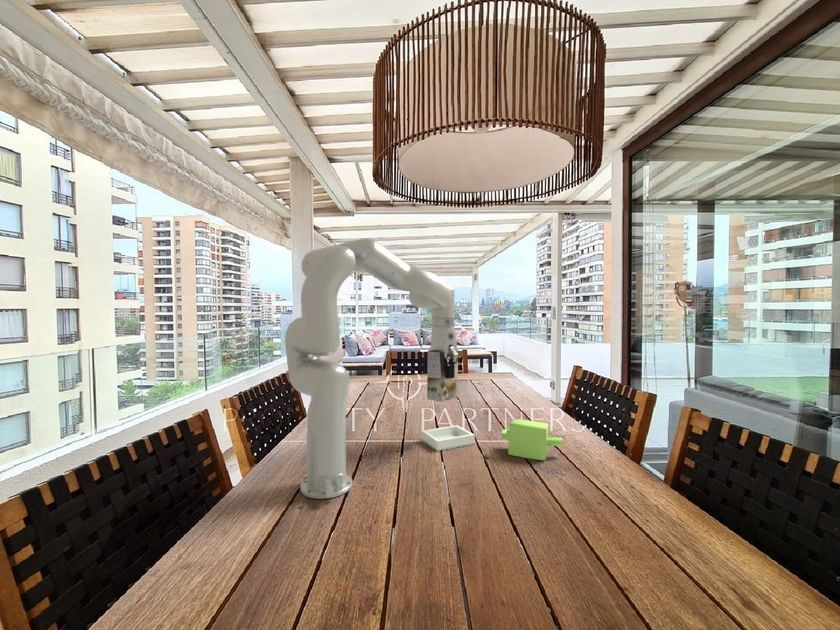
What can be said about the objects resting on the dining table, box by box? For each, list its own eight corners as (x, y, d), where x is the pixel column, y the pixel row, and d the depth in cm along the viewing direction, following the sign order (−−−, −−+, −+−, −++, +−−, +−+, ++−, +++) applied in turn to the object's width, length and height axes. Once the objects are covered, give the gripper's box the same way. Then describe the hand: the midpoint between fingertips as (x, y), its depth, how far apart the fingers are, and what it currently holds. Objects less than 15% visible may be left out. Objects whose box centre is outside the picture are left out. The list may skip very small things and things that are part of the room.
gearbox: (563, 453, 119) (564, 423, 119) (561, 464, 110) (562, 431, 110) (504, 444, 126) (505, 415, 126) (498, 453, 117) (499, 422, 117)
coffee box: (442, 402, 122) (442, 352, 121) (426, 399, 126) (426, 350, 125) (458, 397, 129) (458, 349, 129) (442, 394, 133) (442, 348, 133)
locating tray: (474, 444, 125) (474, 434, 125) (437, 451, 119) (437, 441, 119) (457, 434, 135) (457, 425, 135) (421, 440, 129) (421, 430, 129)
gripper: (467, 324, 121) (466, 379, 121) (439, 322, 136) (439, 370, 137) (446, 324, 117) (446, 381, 118) (420, 322, 133) (420, 372, 133)
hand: (442, 375), depth 127 cm, fingers closed on coffee box, 8 cm apart
